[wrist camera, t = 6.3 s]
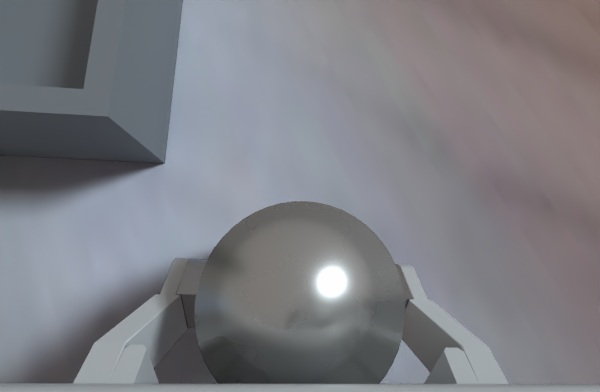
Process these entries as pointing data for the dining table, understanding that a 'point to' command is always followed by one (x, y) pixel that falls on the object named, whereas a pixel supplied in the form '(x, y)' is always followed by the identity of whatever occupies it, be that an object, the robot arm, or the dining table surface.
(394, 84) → the dining table surface
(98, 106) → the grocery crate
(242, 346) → the grey-lidded copper canister
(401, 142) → the dining table surface
